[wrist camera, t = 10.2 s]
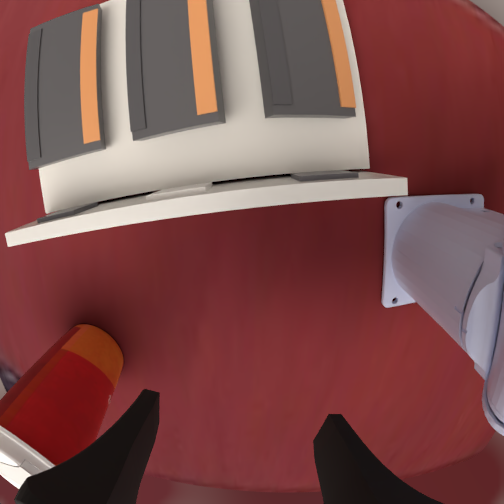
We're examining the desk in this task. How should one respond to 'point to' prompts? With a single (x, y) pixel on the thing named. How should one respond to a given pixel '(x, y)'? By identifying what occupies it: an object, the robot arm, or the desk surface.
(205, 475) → the desk surface
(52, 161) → the switch
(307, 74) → the switch
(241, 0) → the switch unit
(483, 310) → the robot arm
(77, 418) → the paper cup
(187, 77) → the switch
